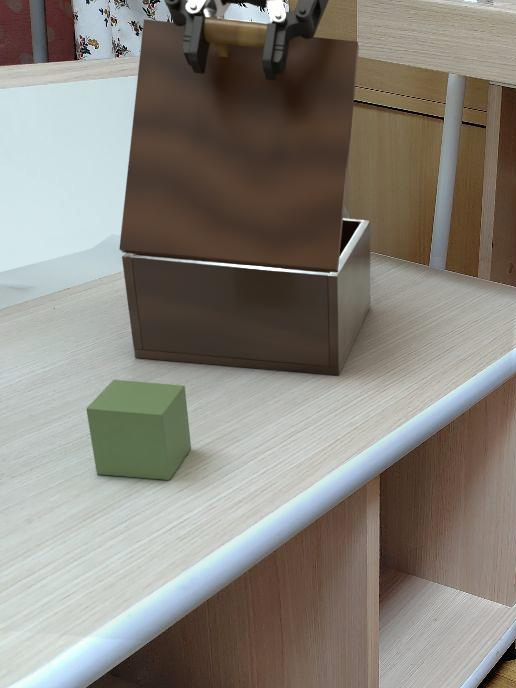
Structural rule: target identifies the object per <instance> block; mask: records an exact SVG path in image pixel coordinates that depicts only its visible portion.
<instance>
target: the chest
mask: <svg viewBox="0 0 516 688" xmlns="http://www.w3.org/2000/svg"><path fill="white" fill-rule="evenodd" d="M121 261H122V269H123V276H124V282H125V283H124V285H125V291H126V301H127V309H128V314H129V325H130V330H131V339H132V345H133V346H132V347H133V352H134V353H133V354H134V358H136V359H145V360H157V361H159V360H160V361H169V362H179V363H180V362H181V363H193V364H203V365H215V366H227V367H237V368H238V367H239V368H248V369H249V368H250V369H260V370H272V371H284V372H294V373H306V374H318V375H327V376H329V375H330V376H339V375H340V374H341V371H342V369H343V367H344V365H345V362H346V360H347V358H348V356H349V353H350V351H351V350H352V347H353V346H354V343H355V341H356V338H357V336H358V335H359V332H360V330H361V327H362V325H363V323H364V321H365V319H366V317H367V314H368V312H369V310H370V308H371V220H367V219H356V218H350V219H347V218H343V224H342V235H341V246H340V256H339V267H338V273H337V272H326V271H315V270H304V269H293V268H283V267H272V266H261V265H250V264H240V263H229V262H218V261H207V260H196V259H186V258H175V257H164V256H153V255H142V254H132V253H124V255H122V256H121Z"/></svg>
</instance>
